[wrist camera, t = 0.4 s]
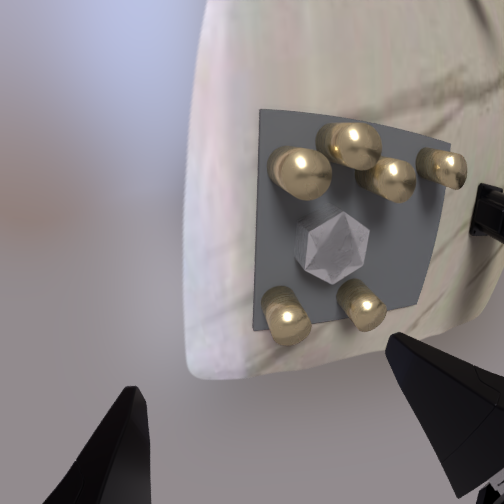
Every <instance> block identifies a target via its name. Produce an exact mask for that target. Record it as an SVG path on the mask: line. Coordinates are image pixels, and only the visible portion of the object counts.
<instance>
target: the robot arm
mask: <svg viewBox="0 0 504 504" xmlns="http://www.w3.org/2000/svg"><path fill="white" fill-rule="evenodd" d="M470 234H471V235H473V236H484V235H489V236H490V237H492V238H494V239H496V240H498V241H499V242H501V243H503V244H504V193H503V189H502V188H499V187H495V186H491V185H488V184H484V183H480V185H479V190H478V196H477V201H476V207H475V212H474V217H473V221H472V226H471V230H470ZM385 354H386V357H387V359H388V362H389V364H390V366H391V368H392V371H393V373H394V375H395V377H396V380H397V382H398V384H399V386H400V388H401V390H402V392H403V394H404V395H405V397H406V399H407V401H408V402H409V404H410V406H411V408H412V409H413V411H414V413H415V415H416V417H417V418H418V420H419V422H420V424H421V426H422V428H423V430H424V432H425V433H426V435H427V437H428V439H429V441H430V443H431V445H432V447H433V449H434V451H435V452H436V455H437V457H438V459H439V461H440V463H441V465H442V467H443V469H444V471H445V473H446V475H447V477H448V479H449V481H450V484H451V486H452V488H453V490H454V492H455V495H456V497H457V498H458V499H459V498H461V497H462V496H464V495H466V494H467V493H469V492H470V491H472V490H474V489H475V488H477V487H478V486H480V485H481V484H482V483H484V482H486V481H487V480H489V482H488V483H487V484H486V485H485V486H484V487H483V488H482V489H481V490H480V491H479V494H478V497H477V502H476V504H504V377H503V376H499V375H497V374H494V373H491V372H489V371H486V370H484V369H481V368H479V367H477V366H473V365H472V364H470V363H468V362H466V361H463V360H461V359H459V358H457V357H454V356H452V355H450V354H448V353H445V352H443V351H441V350H439V349H437V348H434V347H432V346H430V345H428V344H425V343H423V342H421V341H419V340H417V339H414V338H412V337H410V336H408V335H406V334H403V333H401V332H397V333H395V334H392V335H391V336H390V337H389V340H388V343H387V346H386V350H385ZM43 504H151V483H150V437H149V428H148V416H147V405H146V401H145V399H144V397H143V395H142V393H141V392H140V390H139V388H138V387H137V386H127V387H125V388H124V389H123V391H122V392H121V394H120V395H119V396H118V398H117V399H116V401H115V402H114V404H113V405H112V406H111V408H110V409H109V411H108V413H107V414H106V415H105V417H104V418H103V420H102V421H101V423H100V424H99V426H98V427H97V429H96V430H95V432H94V433H93V435H92V436H91V438H90V439H89V441H88V442H87V444H86V445H85V447H84V448H83V450H82V451H81V453H80V454H79V456H78V457H77V459H76V461H75V462H74V463H73V465H72V466H71V468H70V469H69V471H68V472H67V474H66V475H65V476H64V478H63V479H62V480H61V482H60V483H59V484H58V485H57V487H56V488H55V489H54V491H53V492H52V493H51V494H50V495H49V496H48V498H47V499H46V500H45V501H44V502H43Z"/></svg>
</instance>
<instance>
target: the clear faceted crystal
mask: <svg viewBox="0 0 504 504" xmlns="http://www.w3.org/2000/svg"><path fill="white" fill-rule="evenodd" d="M369 232H370V230H369V229H367V228H366V227H365V226H363V225H362V224H361V223H359V222H358V221H356V220H355V219H354V218H352V217H351V216H350V215H348V214H347V213H345V212H344V211H342V210H341V209H339V208H337V207H336V206H334V205H332V204H331V203H327V204H326V205H324V206H322V207H320V208H319V209H317V210H315V211H314V212H312V213H310V214H308V215H307V216H305V217H303V218H301V219H300V220H298V221H297V228H296V239H295V250H294V257H295V258H296V260H297V261H298V262H299V264H300V265H301V266H302V268H303V269H304V270H305V271H307V272H309V273H311V274H313V275H315V276H316V277H318V278H320V279H322V280H324V281H326V282H328V283H330V284H332V285H333V284H335V283H336V282H338V281H339V280H341V279H343V278H344V277H346V276H347V275H349V274H351V273H352V272H354V271H355V270H357V269H358V268H360V267H362V266H363V264H364V259H365V254H366V249H367V243H368V238H369Z"/></svg>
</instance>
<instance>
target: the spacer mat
mask: <svg viewBox="0 0 504 504" xmlns="http://www.w3.org/2000/svg"><path fill="white" fill-rule="evenodd" d="M328 123H366V124H369V125H371V126H372V127H373V128H374V129H375V130H376V131H377V132H378V134H379V136H380V138H381V142H382V153H381V156H385V157H390V158H394V159H398V160H403V161H406V162H408V163H410V164H411V166H412V167H413V168H414V171H415V173H416V187H415V190H414V192H413V194H412V196H411V197H410V198H409V199H408V200H407V201H405V202H403V203H395V202H392V201H390V200H388V199H386V198H383V197H381V196H379V195H377V194H374V193H372V192H369V191H367V190H365V189H363V188H361V187H360V186H359V185H358V183H357V181H356V179H355V169H354V168H350V167H347V166H343V165H340V164H336V163H332V162H329V163H330V165H331V168H332V180H331V183H330V186H329V188H328V189H327V191H326V192H325V193H324V194H323V195H322V196H320V197H319V198H316V199H314V200H307V201H306V200H300V199H298V198H296V197H294V196H293V195H291V194H290V193H288V192H287V191H285V190H284V189H282V188H281V187H279V186H278V185H276V184H275V183H274V182H273V181H272V180H271V179H270V177H269V175H268V173H267V161H268V158H269V156H270V155H271V153H272V152H273V151H274V150H275V149H277V148H279V147H281V146H295V147H300V148H306V149H312V150H316V151H317V149H316V144H315V139H316V135H317V132H318V131H319V129H320V128H321V127H322V126H324V125H325V124H328ZM424 147H429V148H434V149H439V150H443V151H448V152H450V147H451V144H450V143H447V142H444V141H441V140H437V139H434V138H431V137H427V136H424V135H420V134H417V133H413V132H409V131H405V130H401V129H397V128H393V127H389V126H384V125H380V124H375V123H370V122H365V121H360V120H354V119H348V118H342V117H336V116H329V115H322V114H314V113H305V112H296V111H284V110H271V109H260V112H259V146H258V179H257V211H256V242H255V272H254V302H253V330H254V331H257V330H266V329H269V326H268V323H267V321H266V318H265V315H264V313H263V310H262V308H261V299H262V296H263V295H264V293H265V292H266V291H267V290H269V289H270V288H272V287H275V286H287V287H289V288H291V289H292V290H293V292H294V293H295V295H296V297H297V299H298V300H299V302H300V304H301V305H302V307H303V309H304V310H305V312H306V314H307V316H308V317H309V319H310V321H311V324H313V323H320V322H326V321H333V320H339V319H345V318H349V316H348V315H347V314H346V313H345V311H344V310H343V309H342V307H341V306H340V305H339V304H338V302H337V300H336V294H337V291H338V289H339V288H340V286H341V285H342V284H343V283H344V282H346V281H347V280H349V279H353V278H357V279H360V280H361V281H362V282H363V283H364V284H365V285H366V286H367V287H368V288H369V289H370V290H371V291H372V292H373V293H374V294H375V295H376V296H377V297H378V298H379V299H380V300H381V301H382V302H383V303H384V304H385V305H386V308H387V311H388V310H392V309H397V308H402V307H406V306H411V305H415V304H417V302H418V299H419V296H420V293H421V290H422V287H423V283H424V280H425V277H426V274H427V270H428V267H429V263H430V259H431V256H432V252H433V248H434V244H435V240H436V236H437V231H438V227H439V222H440V217H441V212H442V207H443V201H444V195H445V189H446V186H443V185H441V184H438V183H435V182H432V181H429V180H426V179H423V178H421V177H420V176H419V175H418V173H417V170H416V165H415V162H416V156H417V154H418V152H419V151H420V150H421V149H422V148H424ZM327 203H331V204H332V205H334V206H336V207H337V208H339V209H341V210H342V211H344V212H345V213H347V214H348V215H350V216H351V217H352V218H354V219H355V220H356V221H358V222H359V223H361V224H362V225H363V226H365V227H366V228H367V229H369V230H370V232H369V238H368V243H367V249H366V254H365V259H364V264H363V266H362V267H360V268H358V269H357V270H355V271H354V272H352V273H351V274H349V275H347V276H346V277H344V278H343V279H341V280H339V281H338V282H336V283H335V284H333V285H332V284H330V283H328V282H326V281H324V280H322V279H320V278H318V277H316V276H315V275H313V274H311V273H309V272H307V271H305V270H304V269H303V268H302V266H301V265H300V264H299V262H298V261H297V260H296V258H295V257H294V250H295V239H296V228H297V221H298V220H300V219H301V218H303V217H305V216H307V215H308V214H310V213H312V212H314V211H315V210H317V209H319V208H320V207H322V206H324V205H326V204H327Z"/></svg>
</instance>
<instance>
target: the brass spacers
mask: <svg viewBox="0 0 504 504" xmlns="http://www.w3.org/2000/svg"><path fill="white" fill-rule="evenodd" d="M315 144H316V149H317V151H316V150H312V149H306V148H300V147H295V146H281V147H279V148H277V149H275V150H274V151H273V152H272V153H271V155H270V156H269V158H268V161H267V173H268V175H269V177H270V179H271V180H272V181H273V182H274V183H275V184H276V185H278V186H279V187H281V188H282V189H284V190H285V191H287V192H288V193H290V194H291V195H293V196H294V197H296V198H298V199H300V200H306V201H307V200H314V199H316V198H319V197H320V196H322V195H323V194H324V193H325V192H326V191H327V189H328V188H329V186H330V183H331V180H332V168H331V165H330V163H329V162H332V163H336V164H340V165H343V166H347V167H350V168H354V169H355V179H356V181H357V183H358V185H359V186H360V187H361V188H363V189H365V190H367V191H369V192H372V193H374V194H377V195H379V196H381V197H383V198H386V199H388V200H390V201H392V202H395V203H403V202H405V201H407V200H408V199H409V198H410V197H411V196H412V194H413V192H414V190H415V187H416V173H415V171H414V168H413V167H412V166H411V164H410V163H408V162H406V161H403V160H398V159H394V158H390V157H385V156H381V153H382V142H381V138H380V136H379V134H378V132H377V131H376V130H375V129H374V128H373V127H372V126H371V125H369V124H366V123H328V124H325V125H324V126H322V127H321V128H320V129H319V131H318V132H317V135H316V139H315ZM415 165H416V170H417V173H418V175H419V176H420V177H421V178H423V179H426V180H429V181H432V182H435V183H438V184H441V185H443V186H446V187H449V188H452V189H455V190H458V189H460V188H461V187H462V186H463V185H464V183H465V181H466V177H467V164H466V161H465V159H464V157H463V156H462V155H460V154H457V153H452V152H448V151H443V150H439V149H434V148H429V147H424V148H422V149H421V150H420V151H419V152H418V154H417V156H416V162H415ZM336 300H337V302H338V304H339V305H340V306H341V307H342V309H343V310H344V311H345V313H346V314H347V315H348V316H349V318H350V319H351V320H352V322H353V323H354V324H355V326H356V327H357V328H358V330H360V331H362V332H367V331H371V330H373V329H375V328H376V327H377V326H379V325H380V324H381V322H382V321H383V320H384V318H385V316H386V313H387V308H386V305H385V304H384V303H383V302H382V301H381V300H380V299H379V298H378V297H377V296H376V295H375V294H374V293H373V292H372V291H371V290H370V289H369V288H368V287H367V286H366V285H365V284H364V283H363V282H362V281H361V280H360V279H357V278H353V279H349V280H347V281H346V282H344V283H343V284H342V285H341V286H340V288H339V289H338V291H337V294H336ZM261 308H262V310H263V313H264V315H265V318H266V321H267V323H268V326H269V329H270V331H271V334H272V336H273V339H274V341H275V342H276V343H278V344H280V345H284V346H290V345H294V344H297V343H299V342H301V341H302V340H304V339H305V338H306V337H307V336H308V335H309V333H310V331H311V327H312V324H311V321H310V319H309V317H308V316H307V314H306V312H305V310H304V309H303V307H302V305H301V304H300V302H299V300H298V299H297V297H296V295H295V293H294V292H293V290H292V289H291V288H289V287H287V286H275V287H272V288H270V289H269V290H267V291H266V292H265V293H264V295H263V296H262V299H261Z"/></svg>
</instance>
